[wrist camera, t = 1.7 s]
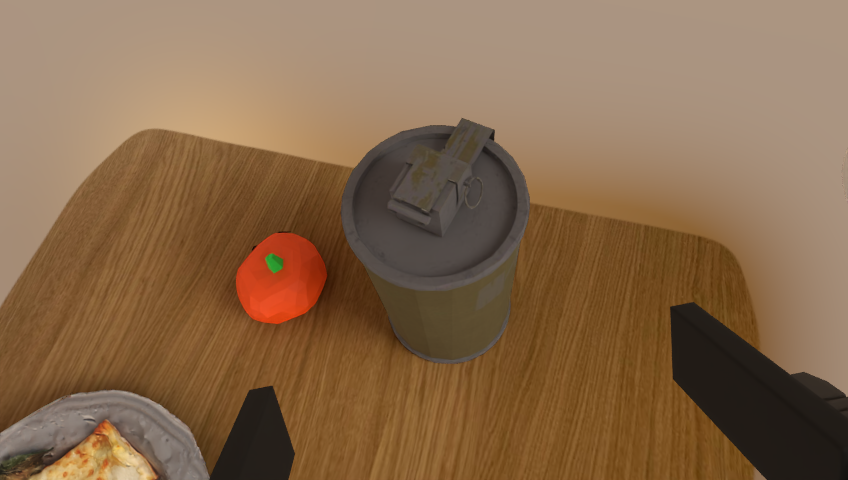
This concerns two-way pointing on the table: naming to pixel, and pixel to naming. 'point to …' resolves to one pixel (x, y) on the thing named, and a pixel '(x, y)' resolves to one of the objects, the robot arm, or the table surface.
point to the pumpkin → (280, 278)
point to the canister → (439, 235)
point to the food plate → (101, 441)
